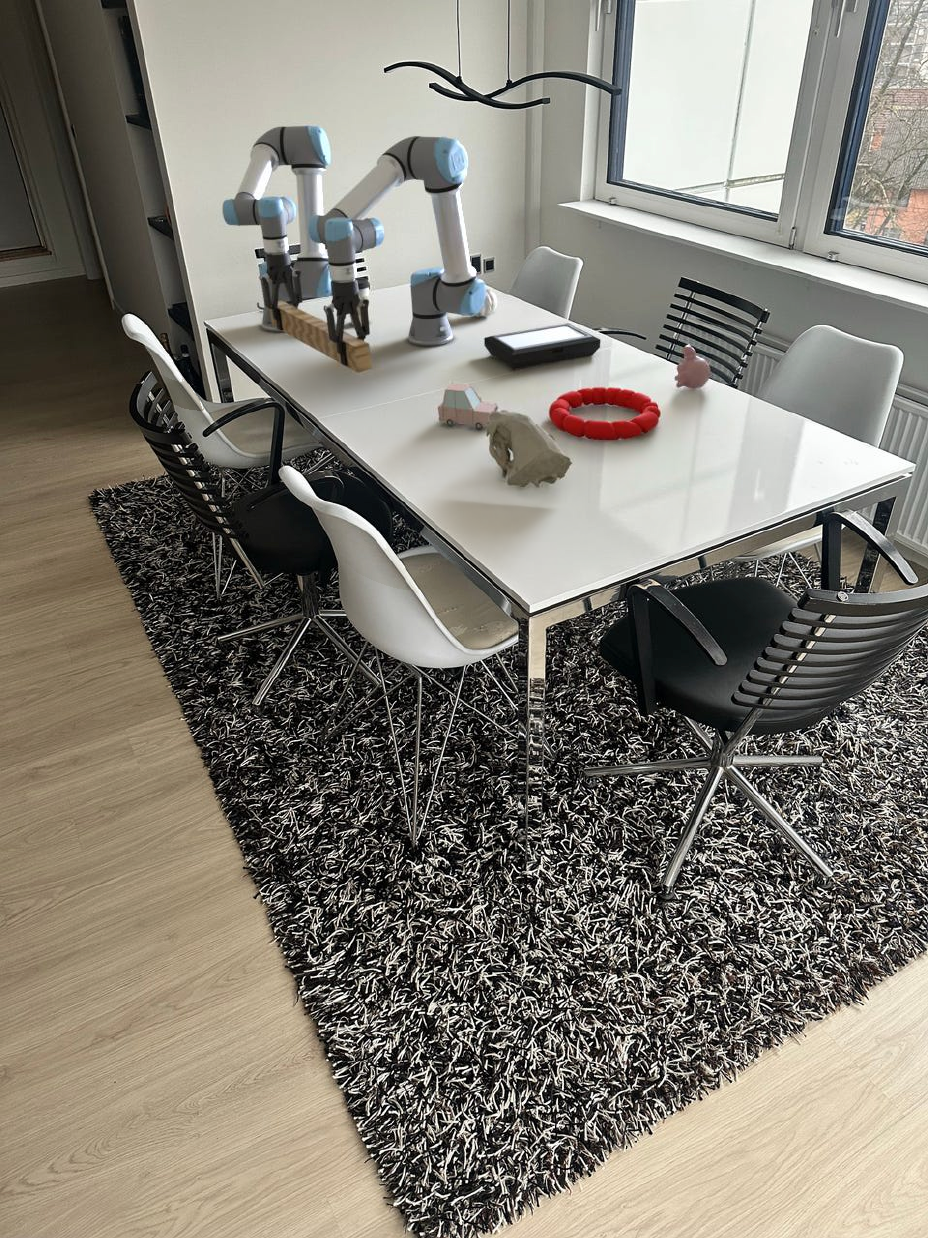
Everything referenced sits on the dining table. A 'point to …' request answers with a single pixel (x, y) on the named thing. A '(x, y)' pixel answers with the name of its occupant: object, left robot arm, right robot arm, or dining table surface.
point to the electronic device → (542, 345)
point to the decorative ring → (604, 428)
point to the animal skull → (525, 450)
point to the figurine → (692, 370)
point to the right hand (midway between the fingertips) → (352, 362)
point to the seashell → (488, 304)
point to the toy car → (465, 406)
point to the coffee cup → (362, 294)
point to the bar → (322, 337)
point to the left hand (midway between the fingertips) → (287, 327)
